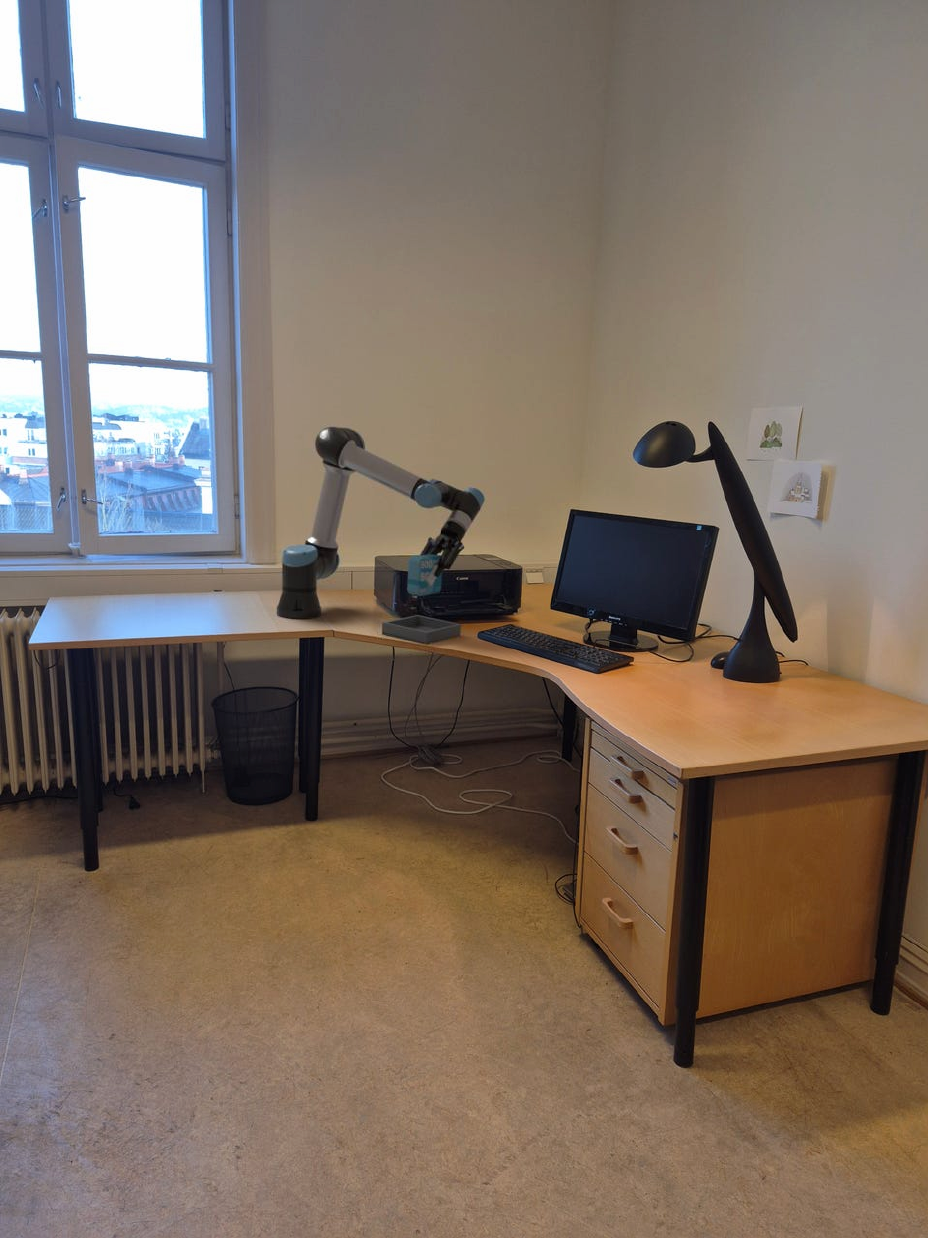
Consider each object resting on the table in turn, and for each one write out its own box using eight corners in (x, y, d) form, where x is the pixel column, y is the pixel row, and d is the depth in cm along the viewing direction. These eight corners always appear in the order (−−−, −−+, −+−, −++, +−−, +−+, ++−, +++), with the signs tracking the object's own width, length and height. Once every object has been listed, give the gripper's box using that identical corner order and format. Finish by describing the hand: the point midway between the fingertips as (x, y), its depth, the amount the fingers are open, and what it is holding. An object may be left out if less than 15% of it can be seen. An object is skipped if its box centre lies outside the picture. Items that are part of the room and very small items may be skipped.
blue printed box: (418, 596, 235) (419, 558, 233) (406, 594, 238) (408, 556, 235) (441, 592, 245) (443, 555, 242) (430, 590, 247) (432, 553, 245)
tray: (381, 634, 242) (382, 622, 241) (417, 626, 256) (417, 615, 255) (426, 644, 232) (426, 632, 231) (460, 635, 246) (461, 624, 245)
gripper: (481, 538, 247) (449, 593, 237) (438, 532, 257) (405, 585, 247) (473, 522, 242) (439, 578, 232) (430, 517, 251) (395, 570, 241)
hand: (422, 581), depth 239 cm, fingers closed on blue printed box, 4 cm apart
